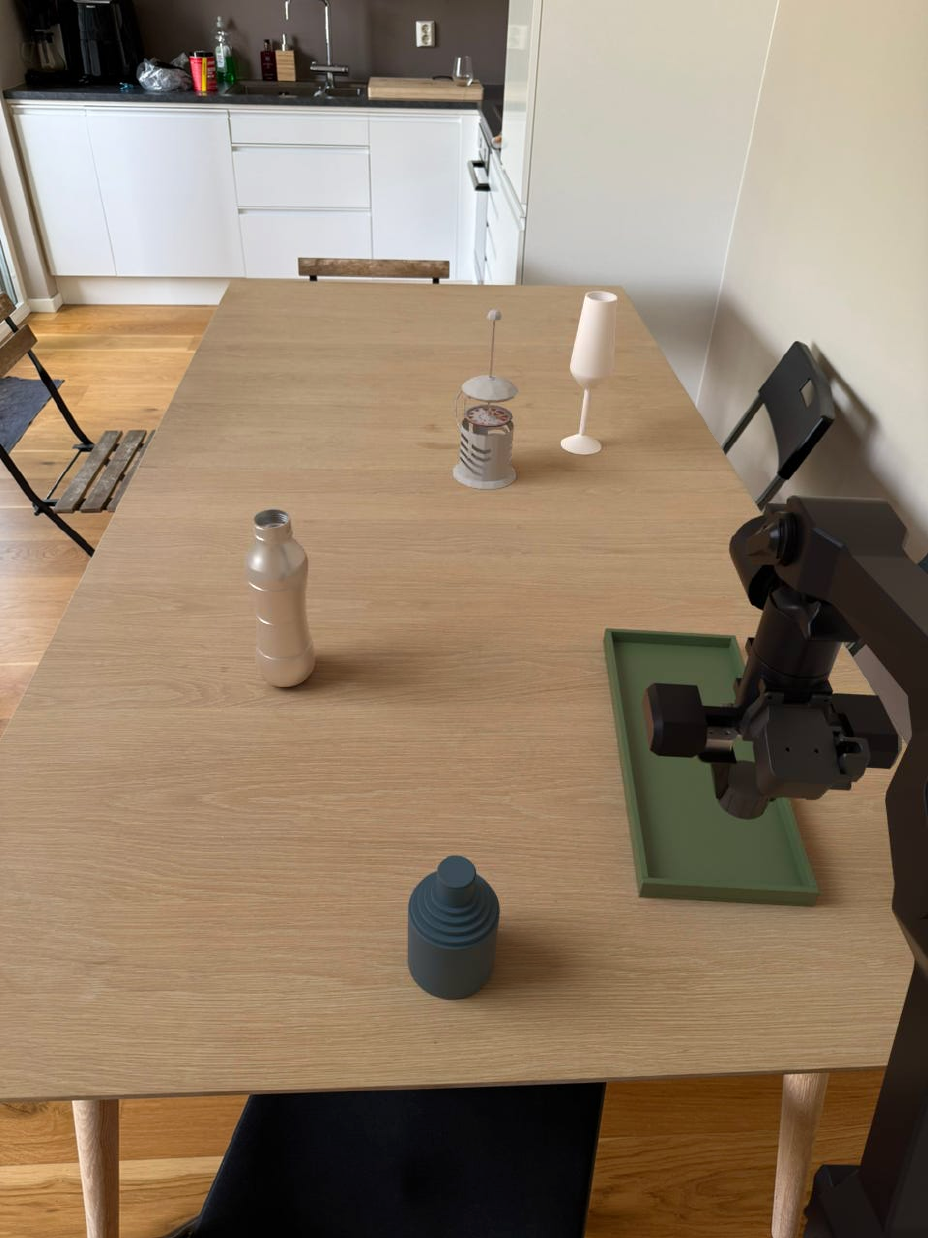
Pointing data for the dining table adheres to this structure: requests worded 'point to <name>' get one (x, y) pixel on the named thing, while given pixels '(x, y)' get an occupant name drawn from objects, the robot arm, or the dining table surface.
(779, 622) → the robot arm
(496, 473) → the french press
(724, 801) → the flask cap
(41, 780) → the dining table surface
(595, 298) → the champagne flute
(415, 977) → the flask
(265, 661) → the plastic bottle
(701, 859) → the tray
